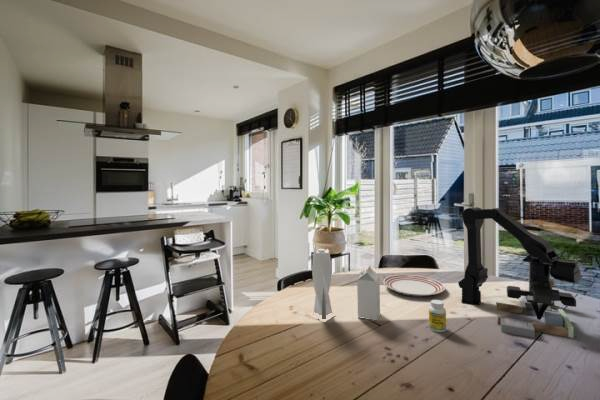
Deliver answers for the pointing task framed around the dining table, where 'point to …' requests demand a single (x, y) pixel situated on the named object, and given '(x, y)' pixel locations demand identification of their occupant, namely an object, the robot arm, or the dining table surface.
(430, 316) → the supplement bottle
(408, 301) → the dining table surface
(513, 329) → the trap pockets
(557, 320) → the slate block
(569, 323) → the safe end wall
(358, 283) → the milk carton
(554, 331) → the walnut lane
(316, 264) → the skyscraper
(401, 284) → the dinner plate
